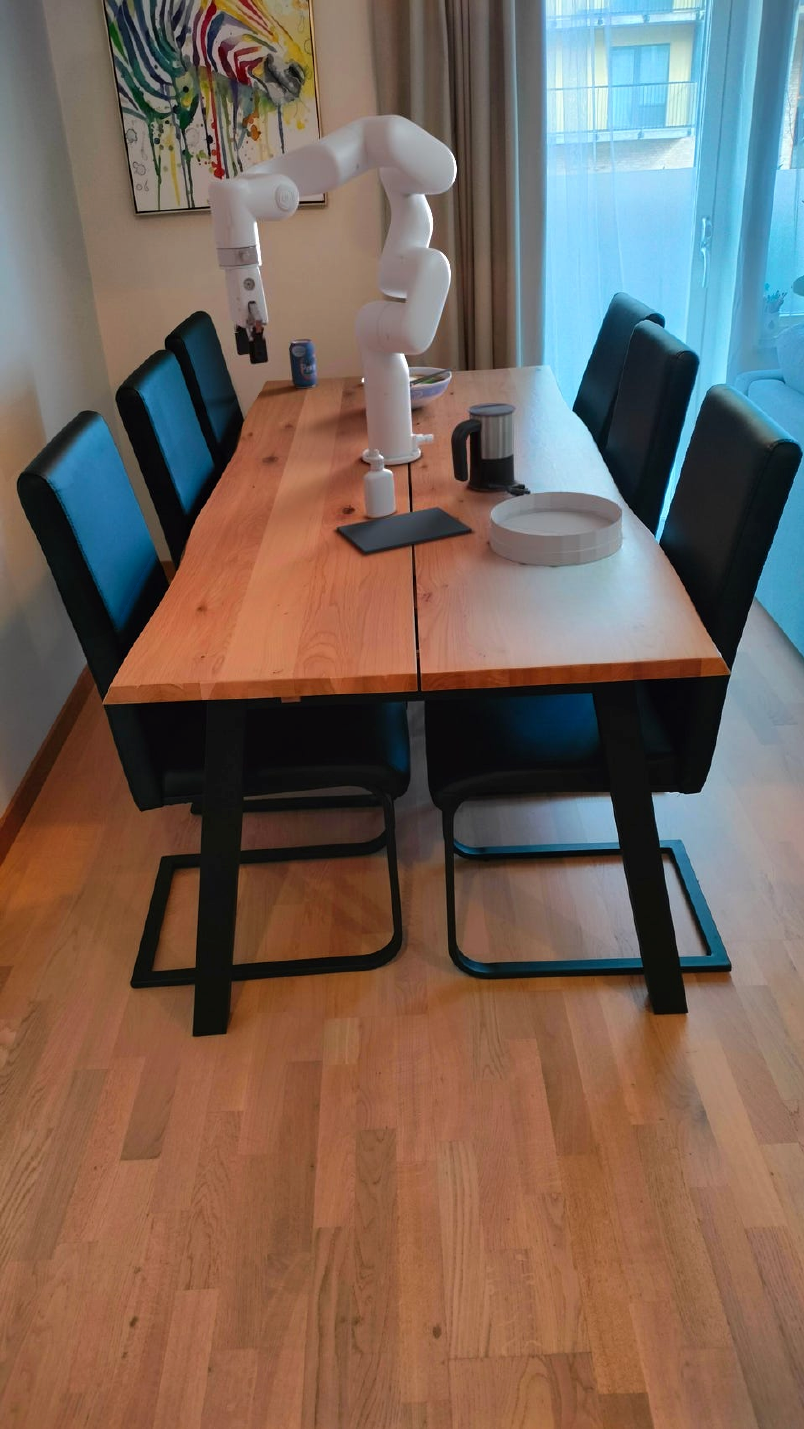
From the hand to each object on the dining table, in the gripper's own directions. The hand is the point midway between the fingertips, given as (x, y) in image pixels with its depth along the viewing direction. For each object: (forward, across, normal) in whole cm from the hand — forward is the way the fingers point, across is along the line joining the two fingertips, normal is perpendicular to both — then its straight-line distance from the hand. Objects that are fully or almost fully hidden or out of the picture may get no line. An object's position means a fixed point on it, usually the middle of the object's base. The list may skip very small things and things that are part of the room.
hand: (252, 358), depth 189 cm
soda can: (+27, +92, -35) cm, 102 cm away
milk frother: (+27, -20, -40) cm, 52 cm away
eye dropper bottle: (+27, -21, -15) cm, 37 cm away
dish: (+27, -49, -36) cm, 67 cm away
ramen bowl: (+27, +52, -50) cm, 78 cm away
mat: (+27, -31, -16) cm, 44 cm away
